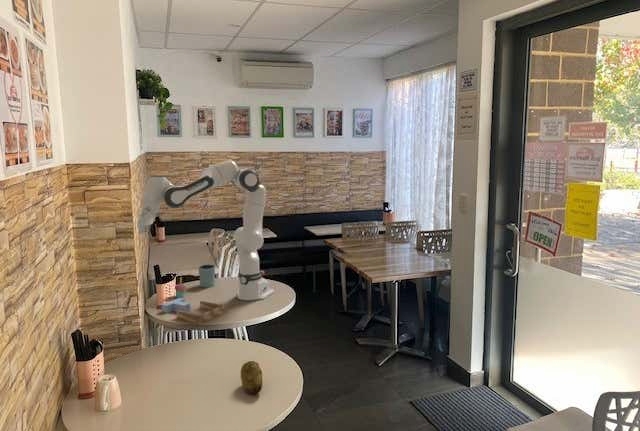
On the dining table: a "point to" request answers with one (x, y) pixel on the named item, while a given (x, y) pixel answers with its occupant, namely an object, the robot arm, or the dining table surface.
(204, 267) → the grey-blue cup
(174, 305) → the t block
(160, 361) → the dining table surface
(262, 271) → the robot arm
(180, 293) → the cupcake
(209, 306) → the corral
